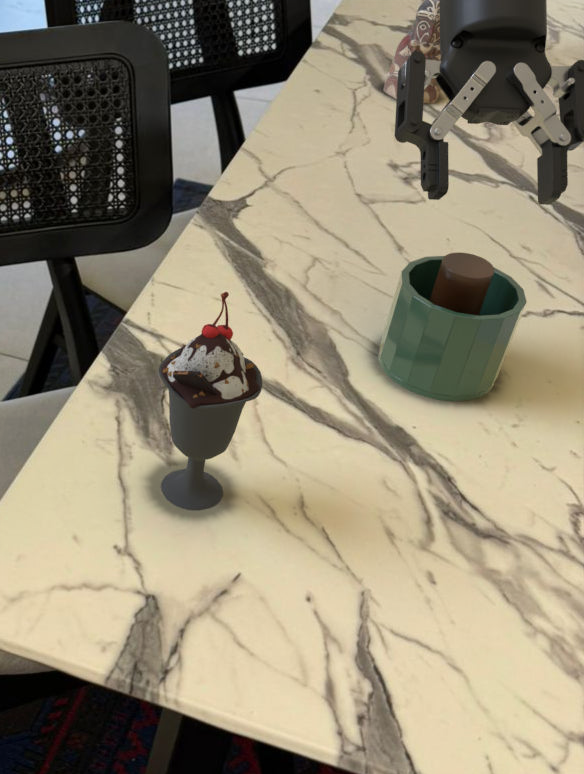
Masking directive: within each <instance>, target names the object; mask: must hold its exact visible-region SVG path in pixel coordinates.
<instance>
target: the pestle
mask: <svg viewBox="0 0 584 774" xmlns="http://www.w3.org/2000/svg"><path fill="white" fill-rule="evenodd" d="M443 256H444V257H443V259H442V262H441V266H440V269H439V272H438V275H437V278H436V281H435V284H434V288H433V291H432V294H431V297H430V300H429V301H430V302H432V303H433V304H435V305H437V306H440V307H443V308H446V309H449V310H451V311H454V312H458V313H464V314H471V315H477V316H479V314H480V311H481V308H482V305H483V303H484V300H485V297H486V294H487V291H488V289H489V286H490V283H491V280H492V277H493V275H494V271H495V270H494V267H495V266H494V265H493V264H492V263H491V261H489V260H487V259H486V258H483V257H481V256H479V255H477V254H473V253H470V252H451V253H447V254H446V255H443Z"/></svg>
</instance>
